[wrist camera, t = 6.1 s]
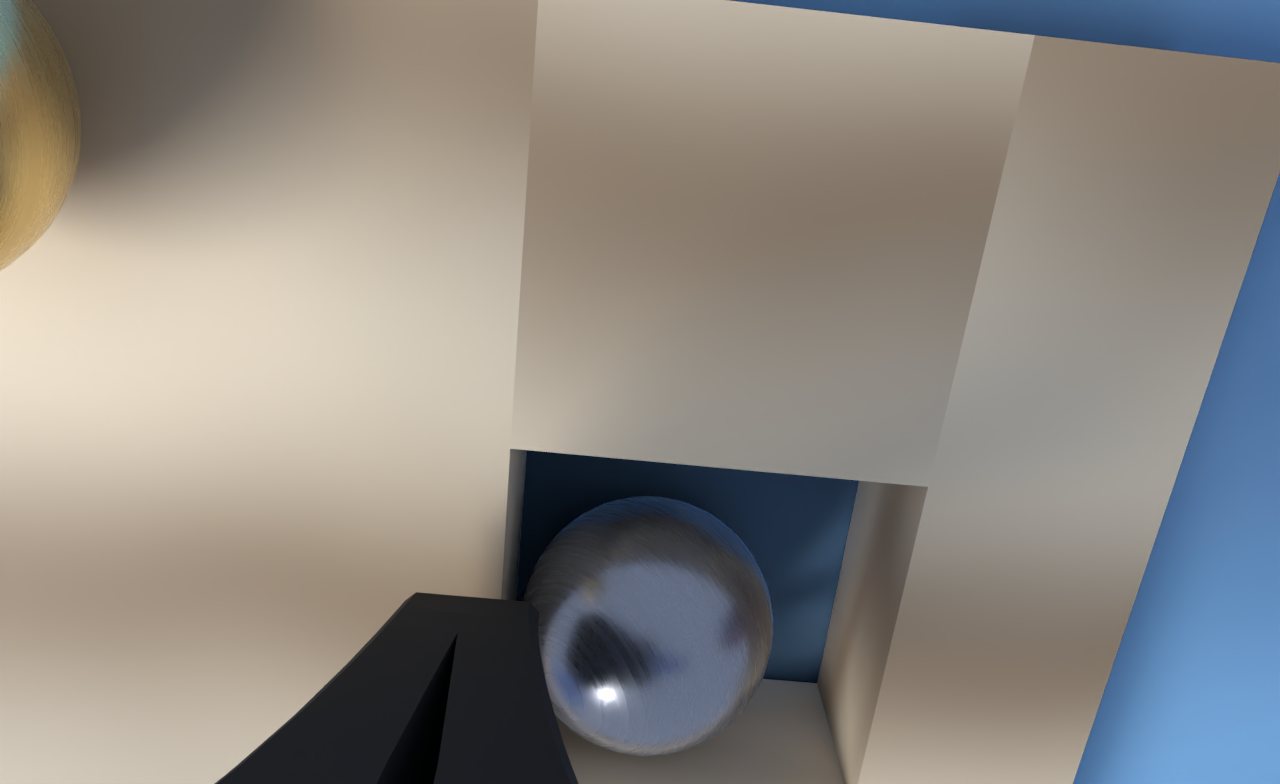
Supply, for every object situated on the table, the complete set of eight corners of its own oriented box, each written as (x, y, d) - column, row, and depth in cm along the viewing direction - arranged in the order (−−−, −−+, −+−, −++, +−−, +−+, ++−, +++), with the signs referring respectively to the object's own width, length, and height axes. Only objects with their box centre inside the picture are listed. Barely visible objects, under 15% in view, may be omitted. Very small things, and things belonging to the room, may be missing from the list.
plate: (914, 964, 17) (959, 1117, 15) (-94, 894, 16) (-216, 1044, 14) (1177, 56, 11) (1315, 67, 9) (-322, -115, 11) (-586, -149, 8)
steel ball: (799, 707, 13) (641, 862, 11) (632, 582, 15) (469, 697, 13) (845, 537, 12) (668, 684, 10) (651, 416, 13) (465, 520, 11)
